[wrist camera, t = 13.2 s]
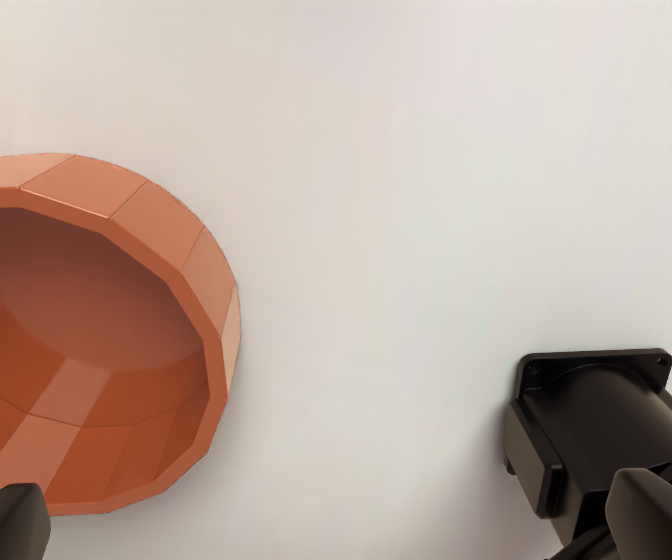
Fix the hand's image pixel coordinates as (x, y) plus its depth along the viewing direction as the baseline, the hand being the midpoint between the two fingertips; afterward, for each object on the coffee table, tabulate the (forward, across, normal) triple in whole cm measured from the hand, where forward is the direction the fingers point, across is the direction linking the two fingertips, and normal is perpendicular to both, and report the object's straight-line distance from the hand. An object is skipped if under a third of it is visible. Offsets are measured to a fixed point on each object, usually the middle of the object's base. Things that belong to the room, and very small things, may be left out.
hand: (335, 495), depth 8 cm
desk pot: (+13, +9, +3) cm, 16 cm away
